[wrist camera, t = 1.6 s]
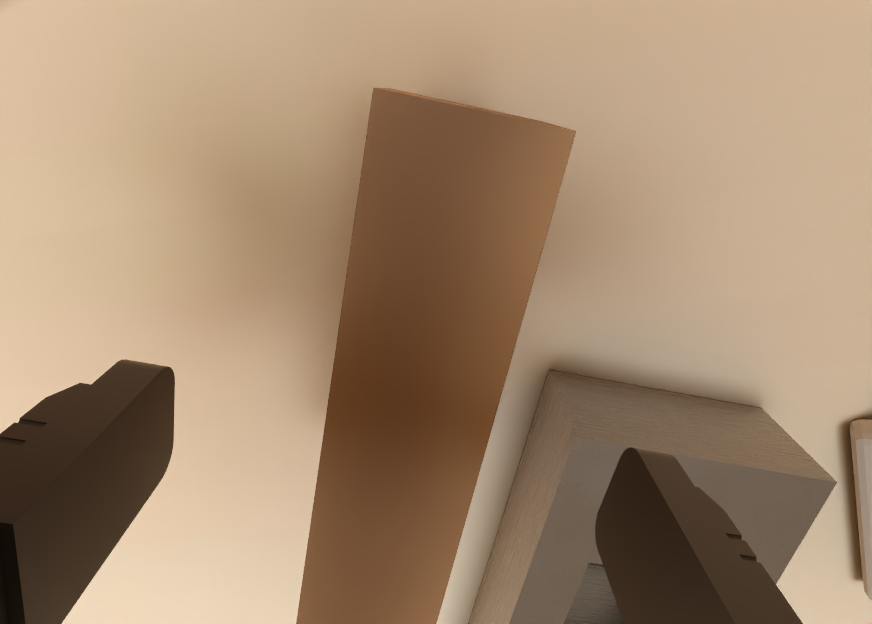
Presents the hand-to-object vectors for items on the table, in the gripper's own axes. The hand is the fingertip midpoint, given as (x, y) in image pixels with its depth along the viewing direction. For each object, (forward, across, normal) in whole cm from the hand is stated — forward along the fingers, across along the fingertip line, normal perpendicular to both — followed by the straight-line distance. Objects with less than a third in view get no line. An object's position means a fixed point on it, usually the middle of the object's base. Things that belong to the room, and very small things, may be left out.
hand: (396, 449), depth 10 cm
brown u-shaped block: (+9, 0, 0) cm, 9 cm away
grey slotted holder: (+9, -9, +13) cm, 18 cm away
